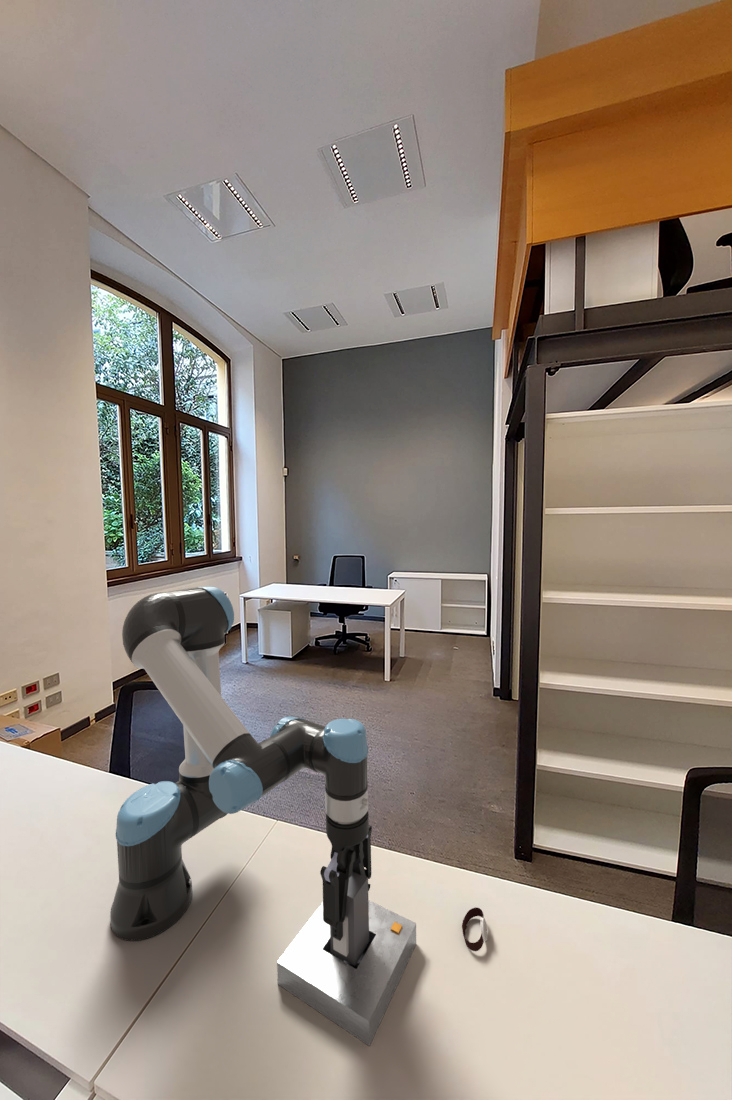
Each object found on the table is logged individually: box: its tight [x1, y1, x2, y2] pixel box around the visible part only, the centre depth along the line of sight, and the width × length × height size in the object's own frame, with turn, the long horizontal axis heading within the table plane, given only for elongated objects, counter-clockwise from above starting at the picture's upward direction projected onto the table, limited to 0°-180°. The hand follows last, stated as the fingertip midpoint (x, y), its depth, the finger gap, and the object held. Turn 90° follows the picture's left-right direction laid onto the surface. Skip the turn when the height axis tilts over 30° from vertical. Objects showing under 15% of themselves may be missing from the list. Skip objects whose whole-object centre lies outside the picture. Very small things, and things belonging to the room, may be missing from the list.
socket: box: [276, 899, 417, 1047], centre depth 76 cm, size 18×18×4 cm
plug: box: [330, 871, 369, 966], centre depth 75 cm, size 5×5×12 cm
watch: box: [461, 907, 489, 952], centre depth 81 cm, size 8×5×4 cm, turn 160°
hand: (349, 937), depth 76 cm, fingers closed on plug, 5 cm apart
